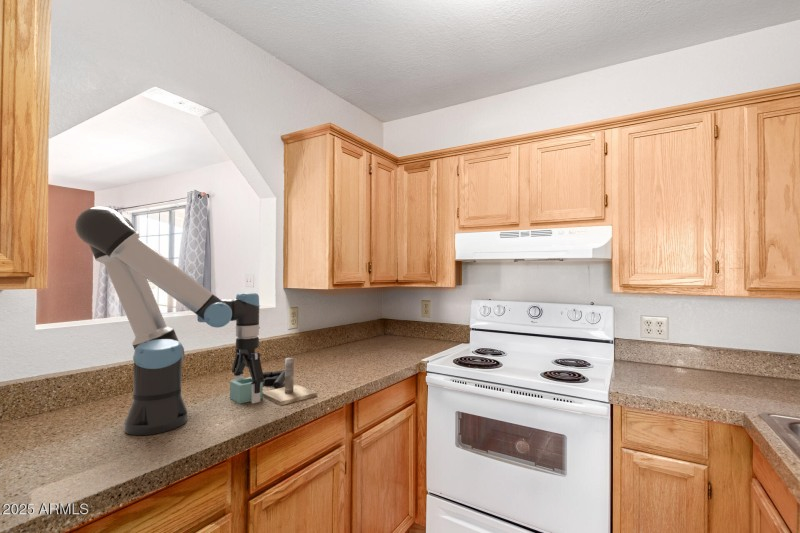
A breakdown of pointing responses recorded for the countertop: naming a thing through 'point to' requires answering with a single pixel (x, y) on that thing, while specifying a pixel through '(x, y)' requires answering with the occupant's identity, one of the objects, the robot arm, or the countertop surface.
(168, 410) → the robot arm
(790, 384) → the countertop surface
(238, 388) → the collar
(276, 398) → the peg stand
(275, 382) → the black toy gun
